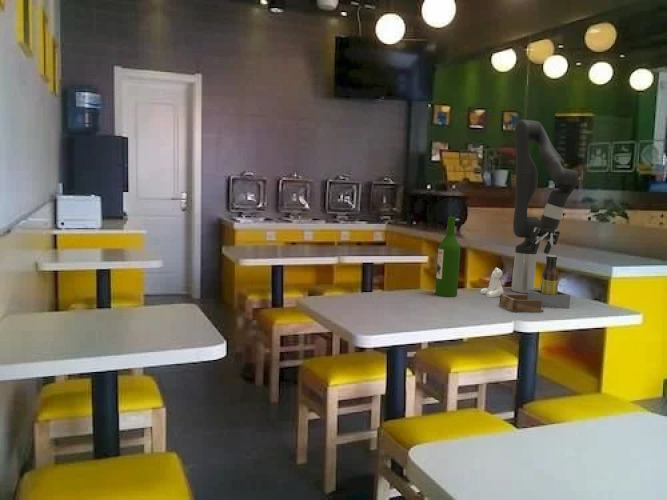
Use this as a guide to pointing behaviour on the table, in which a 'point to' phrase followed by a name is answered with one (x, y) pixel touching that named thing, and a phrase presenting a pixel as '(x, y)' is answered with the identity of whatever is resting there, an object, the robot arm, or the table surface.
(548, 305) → the grey open box
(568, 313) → the table surface
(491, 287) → the white creature statuette
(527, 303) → the tray
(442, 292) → the wine bottle
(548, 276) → the sauce bottle
